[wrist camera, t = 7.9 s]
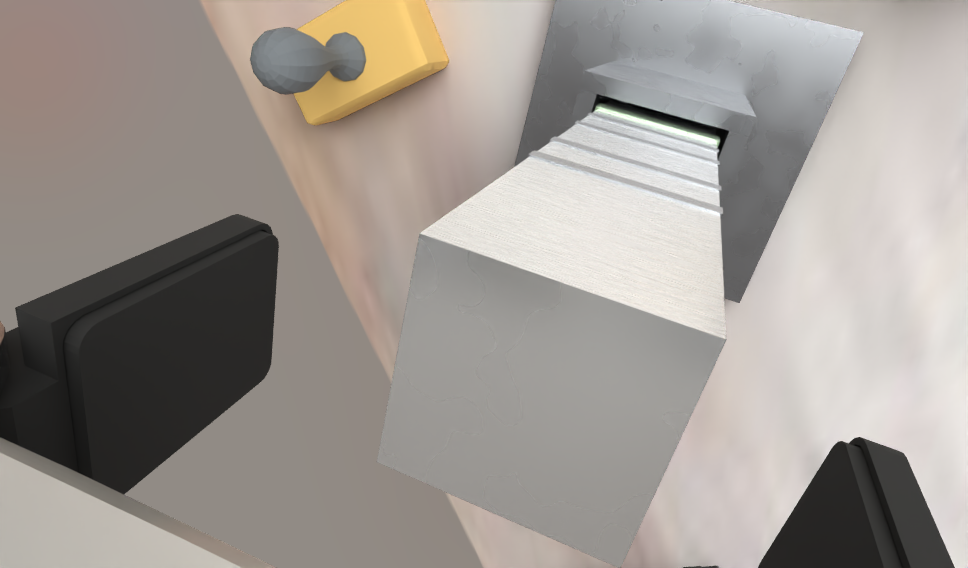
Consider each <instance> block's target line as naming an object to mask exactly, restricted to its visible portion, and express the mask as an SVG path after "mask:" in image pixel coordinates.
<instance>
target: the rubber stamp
mask: <svg viewBox="0 0 968 568" xmlns="http://www.w3.org/2000/svg"><path fill="white" fill-rule="evenodd" d="M250 61H251V65H252V69H253V72H254V74H255V75H256V76H257V78H258V79H259V80H260V82H261V83H262V84H263V86H265V87H267V88H269V89H271V90H273V91H275V92H278V93H280V94H285V95H286V94H293V93H294V96H295V98H296V100H297V102H298V104H299V106H300V108H301V111H302V113H303V115H304V117H305V119H306V121H307V123H309V124H312V125H320V124H324V123H328V122H332V121H336V120H339V119H341V118H343V117H345V116H347V115H349V114H351V113H354V112H356V111H358V110H360V109H362V108H364V107H366V106H368V105H370V104H372V103H374V102H376V101H378V100H380V99H382V98H384V97H386V96H389V95H391V94H393V93H395V92H397V91H399V90H401V89H403V88H405V87H407V86H409V85H411V84H413V83H415V82H417V81H419V80H421V79H424V78H426V77H428V76H430V75H432V74H434V73H436V72H438V71H440V70H442V69H444V68H446V66H447V64H448V63H449V59H448V56H447V54H446V51H445V49H444V46H443V44H442V41H441V39H440V36H439V34H438V32H437V29H436V27H435V24H434V22H433V19H432V17H431V14H430V12H429V9H428V7H427V4H426V2H425V0H346V1H344V2H342V3H341V4H339V5H337V6H336V7H334V8H332V9H331V10H329V11H327V12H325V13H324V14H322V15H320V16H319V17H317V18H315V19H314V20H312V21H310V22H308V23H307V24H305V25H303V26H302V27H300V28H298V29H297V30H296V29H294V28H290V27H283V28H278V29H273V30H269V31H266V32H264V33H263V34H262V35H261V36H260V37H259V38H258V39H257V41H256V42H255V43H254V44H253V47H252V52H251V58H250Z"/></svg>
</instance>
